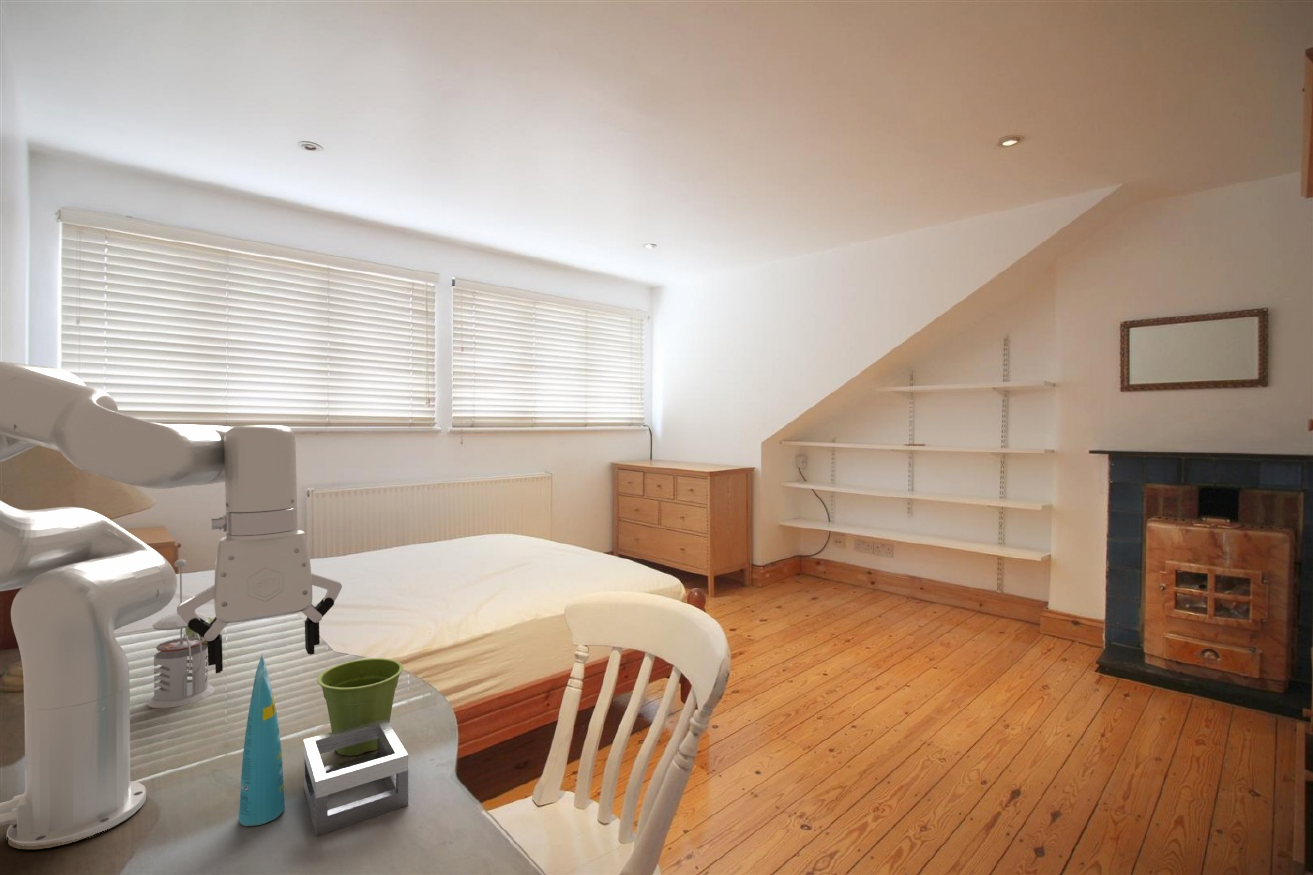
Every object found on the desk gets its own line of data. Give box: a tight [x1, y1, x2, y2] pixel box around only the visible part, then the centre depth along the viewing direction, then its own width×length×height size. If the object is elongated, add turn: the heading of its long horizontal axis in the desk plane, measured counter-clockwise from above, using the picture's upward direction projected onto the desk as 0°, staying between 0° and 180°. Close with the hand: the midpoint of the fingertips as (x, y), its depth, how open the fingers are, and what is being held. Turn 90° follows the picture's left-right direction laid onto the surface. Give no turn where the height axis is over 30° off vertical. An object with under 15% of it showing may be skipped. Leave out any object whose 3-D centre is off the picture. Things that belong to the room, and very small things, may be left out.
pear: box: [184, 616, 213, 646], centre depth 142 cm, size 6×5×10 cm
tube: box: [238, 652, 286, 827], centre depth 77 cm, size 7×5×19 cm, turn 39°
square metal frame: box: [303, 719, 409, 837], centre depth 81 cm, size 10×12×6 cm
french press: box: [146, 558, 216, 709], centre depth 112 cm, size 10×12×25 cm
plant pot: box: [316, 657, 404, 757], centre depth 94 cm, size 12×12×11 cm
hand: (266, 660), depth 77 cm, fingers open, 9 cm apart
